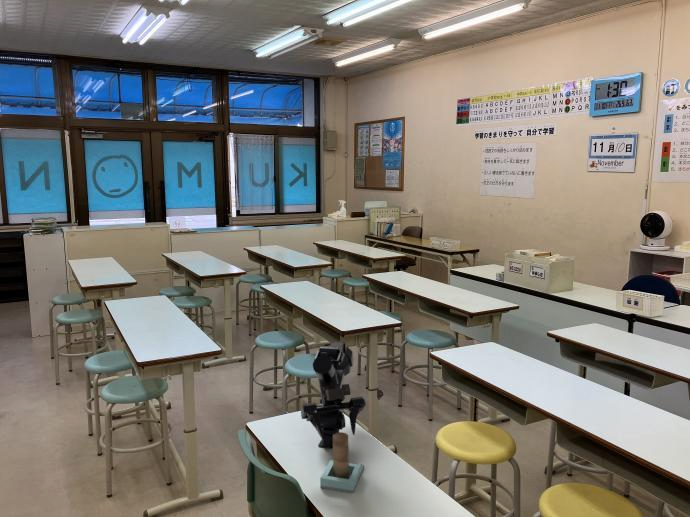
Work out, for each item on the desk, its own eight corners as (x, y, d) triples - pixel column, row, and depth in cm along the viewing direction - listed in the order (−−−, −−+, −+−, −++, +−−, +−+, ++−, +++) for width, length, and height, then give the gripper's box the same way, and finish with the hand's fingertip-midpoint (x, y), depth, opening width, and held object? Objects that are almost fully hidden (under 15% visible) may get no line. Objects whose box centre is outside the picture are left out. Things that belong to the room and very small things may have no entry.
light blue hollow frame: (333, 462, 163) (333, 453, 162) (364, 467, 160) (364, 458, 160) (320, 487, 150) (320, 478, 150) (353, 493, 148) (352, 483, 147)
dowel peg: (338, 471, 156) (337, 430, 154) (351, 476, 154) (351, 434, 152) (330, 479, 153) (329, 437, 150) (344, 484, 150) (343, 441, 148)
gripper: (301, 378, 155) (310, 432, 146) (363, 371, 159) (375, 423, 151) (297, 392, 164) (305, 444, 155) (356, 385, 168) (367, 435, 160)
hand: (338, 436), depth 155 cm, fingers open, 9 cm apart
